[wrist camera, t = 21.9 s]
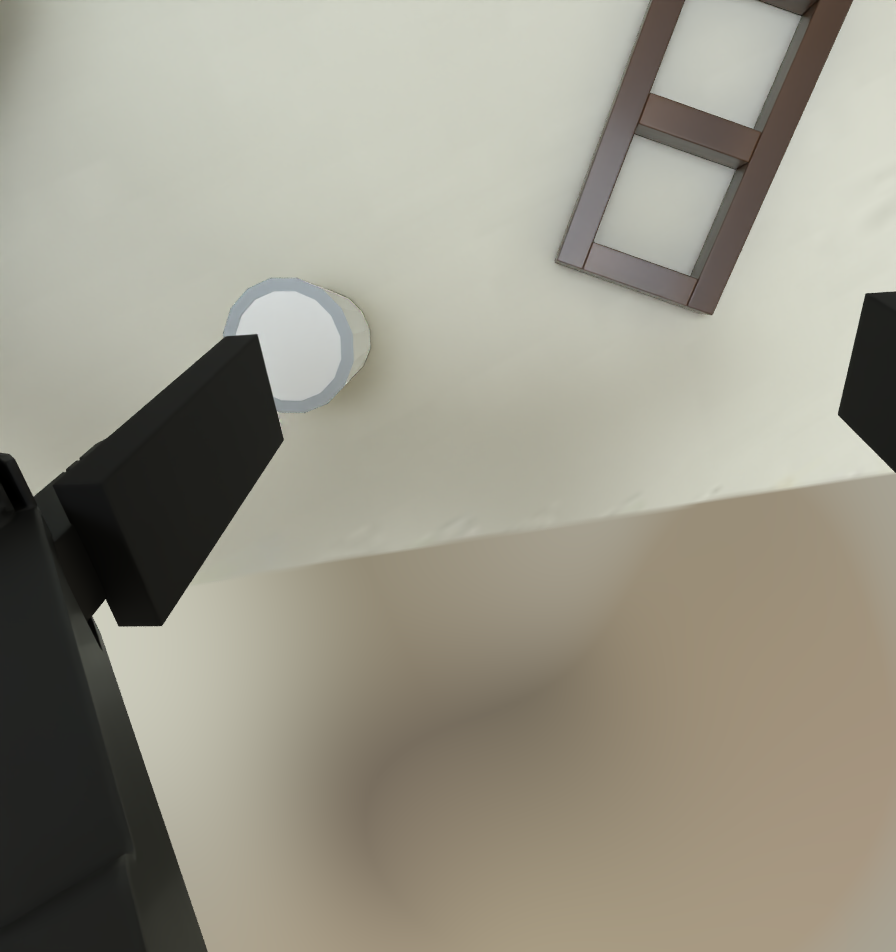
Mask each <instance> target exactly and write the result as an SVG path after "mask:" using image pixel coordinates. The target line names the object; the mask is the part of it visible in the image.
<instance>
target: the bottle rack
mask: <svg viewBox="0 0 896 952" xmlns="http://www.w3.org/2000/svg"><path fill="white" fill-rule="evenodd" d="M684 1H685V0H650V3H649V5H648V8H647V11H646V13H645V16H644V19H643V22H642V24H641V27H640V30H639V33H638V35H637V38H636V41H635V43H634V46H633V49H632V52H631V54H630V57H629V60H628V63H627V65H626V68H625V71H624V73H623V76H622V79H621V82H620V84H619V87H618V90H617V93H616V95H615V98H614V101H613V103H612V106H611V109H610V112H609V114H608V117H607V120H606V123H605V125H604V128H603V131H602V133H601V136H600V139H599V142H598V144H597V147H596V150H595V153H594V155H593V158H592V161H591V163H590V166H589V169H588V172H587V174H586V177H585V180H584V183H583V185H582V188H581V191H580V193H579V196H578V199H577V202H576V204H575V207H574V210H573V213H572V215H571V218H570V221H569V223H568V226H567V229H566V232H565V234H564V237H563V240H562V243H561V245H560V248H559V251H558V253H557V256H556V259H555V263H558V264H561V265H564V266H567V267H569V268H572V269H575V270H579V271H581V272H584V273H586V274H589V275H592V276H595V277H598V278H601V279H603V280H606V281H609V282H612V283H615V284H618V285H620V286H623V287H626V288H629V289H632V290H635V291H637V292H640V293H643V294H646V295H649V296H652V297H654V298H657V299H660V300H663V301H666V302H668V303H671V304H674V305H677V306H680V307H683V308H686V309H688V310H691V311H694V312H697V313H700V314H705V315H713V313H714V311H715V308H716V306H717V304H718V302H719V299H720V297H721V295H722V293H723V290H724V288H725V286H726V284H727V281H728V279H729V277H730V275H731V272H732V270H733V268H734V266H735V264H736V261H737V259H738V257H739V255H740V252H741V250H742V248H743V246H744V243H745V241H746V239H747V237H748V234H749V232H750V230H751V228H752V225H753V223H754V221H755V219H756V217H757V214H758V212H759V210H760V208H761V205H762V203H763V201H764V199H765V196H766V194H767V192H768V190H769V187H770V185H771V183H772V181H773V178H774V176H775V174H776V172H777V170H778V167H779V165H780V163H781V161H782V158H783V156H784V154H785V152H786V149H787V147H788V145H789V143H790V140H791V138H792V136H793V134H794V131H795V129H796V127H797V125H798V122H799V120H800V118H801V116H802V114H803V111H804V109H805V107H806V105H807V102H808V100H809V98H810V96H811V93H812V91H813V89H814V87H815V84H816V82H817V80H818V78H819V75H820V73H821V71H822V69H823V67H824V64H825V62H826V60H827V58H828V55H829V53H830V51H831V49H832V46H833V44H834V42H835V40H836V37H837V35H838V33H839V31H840V28H841V26H842V24H843V22H844V20H845V17H846V15H847V13H848V11H849V8H850V6H851V4H852V2H853V0H760V1H763V2H766V3H768V4H771V5H774V6H777V7H780V8H783V9H785V10H788V11H791V12H794V13H797V14H800V15H803V16H802V18H801V20H800V23H799V25H798V27H797V30H796V32H795V34H794V37H793V39H792V41H791V44H790V46H789V48H788V51H787V53H786V55H785V58H784V60H783V62H782V65H781V67H780V69H779V72H778V74H777V76H776V79H775V81H774V83H773V86H772V88H771V90H770V93H769V95H768V97H767V100H766V102H765V104H764V107H763V109H762V111H761V114H760V116H759V118H758V121H757V123H756V125H755V128H754V129H752V128H749V127H746V126H743V125H740V124H737V123H735V122H732V121H729V120H726V119H723V118H720V117H718V116H715V115H712V114H709V113H706V112H704V111H701V110H698V109H695V108H692V107H689V106H687V105H684V104H681V103H678V102H675V101H672V100H670V99H667V98H664V97H661V96H658V95H655V94H653V93H650V91H651V88H652V86H653V83H654V80H655V78H656V75H657V72H658V70H659V67H660V65H661V62H662V59H663V57H664V54H665V51H666V49H667V46H668V43H669V41H670V38H671V36H672V33H673V30H674V28H675V25H676V22H677V20H678V17H679V15H680V12H681V9H682V7H683V4H684ZM649 93H650V94H649ZM634 134H637V135H640V136H643V137H646V138H648V139H651V140H654V141H657V142H660V143H663V144H665V145H668V146H671V147H674V148H677V149H680V150H682V151H685V152H688V153H691V154H694V155H697V156H699V157H702V158H705V159H708V160H711V161H714V162H716V163H719V164H722V165H725V166H728V167H730V168H733V169H737V170H736V172H735V174H734V177H733V179H732V181H731V183H730V186H729V188H728V190H727V193H726V195H725V197H724V200H723V202H722V204H721V207H720V209H719V211H718V214H717V216H716V218H715V221H714V223H713V225H712V228H711V230H710V232H709V235H708V237H707V239H706V242H705V244H704V246H703V249H702V251H701V253H700V256H699V258H698V260H697V263H696V265H695V267H694V270H693V272H692V274H691V276H688V275H685V274H682V273H679V272H677V271H674V270H671V269H668V268H665V267H662V266H660V265H657V264H654V263H651V262H648V261H646V260H643V259H640V258H637V257H634V256H631V255H629V254H626V253H623V252H620V251H617V250H614V249H612V248H609V247H606V246H603V245H600V244H597V243H595V242H593V241H594V238H595V235H596V233H597V230H598V228H599V225H600V222H601V220H602V217H603V214H604V212H605V209H606V206H607V204H608V201H609V199H610V196H611V193H612V191H613V188H614V185H615V183H616V180H617V178H618V175H619V172H620V170H621V167H622V164H623V162H624V159H625V157H626V154H627V151H628V149H629V146H630V143H631V141H632V138H633V136H634Z"/></svg>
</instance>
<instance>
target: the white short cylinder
mask: <svg viewBox="0 0 896 952" xmlns="http://www.w3.org/2000/svg"><path fill="white" fill-rule="evenodd" d="M250 334H258V338H259V342H260V346H261V350H262V354H263V358H264V362H265V366H266V370H267V374H268V378H269V382H270V386H271V390H272V394H273V398H274V402H275V406H276V410H277V411H278V412H282V413H306V412H308V411H311V410H313V409H316V408H318V407H321V406H323V405H325V404H328V403H329V402H330V401H331V400H332V399H333V397H334V396H335V395H336V394H337V393H338V392H339V391H340V390H341V389H342V388H343V387H344V386H345V385H346V384H347V383H348V382H349V381H350V379H351V378H352V377H353V376H354V375H355V374H356V373H357V372H358V371H359V370H360V369H361V368H362V367H363V365H364V364H365V361H366V358H367V356H368V353H369V350H370V329H369V327H368V324H367V322H366V320H365V317H364V315H363V312H362V311H361V310H360V309H359V308H358V307H357V306H356V305H355V304H354V303H353V302H352V301H351V300H350V299H349V298H346V297H344V296H342V295H339V294H337V293H335V292H332V291H330V290H327V289H325V288H322V287H319V286H317V285H314V284H312V283H309V282H307V281H304V280H301V279H299V278H269V279H267V280H265V281H263V282H261V283H259V284H256V285H254V286H252V287H250V288H248V289H247V290H246V291H245V292H244V293H243V294H242V296H241V297H240V298H239V299H238V300H237V301H236V303H235V304H234V305H233V306H232V307H231V309H230V312H229V316H228V319H227V322H226V325H225V329H224V332H223V337H226V336H235V335H250Z"/></svg>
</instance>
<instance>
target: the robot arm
mask: <svg viewBox="0 0 896 952" xmlns="http://www.w3.org/2000/svg"><path fill="white" fill-rule="evenodd" d="M838 415H839V416H840V417H841V418H842V419H843V420H844V421H845V422H846V423H847V424H848V426H849V427H850V428H851V429H852V430H853V431H854V432H855V433H856V434H857V435H858V436H859V437H860V438H861V439H862V440H863V441H864V442H865V443H866V444H867V445H868V446H869V447H870V448H871V449H872V450H873V451H874V452H875V453H876V454H877V455H878V456H879V457H880V458H881V459H882V460H883V461H884V462H885V463H886V464H887V465H888V466H889V467H890V468H891V469H892V470H893V471H894V472H895V473H896V292H882V293H867V294H865V298H864V303H863V307H862V311H861V316H860V320H859V325H858V329H857V333H856V338H855V342H854V346H853V351H852V355H851V359H850V364H849V368H848V372H847V377H846V381H845V385H844V390H843V394H842V398H841V403H840V407H839V411H838ZM283 441H284V438H283V434H282V430H281V426H280V422H279V418H278V414H277V410H276V406H275V402H274V398H273V394H272V390H271V386H270V382H269V378H268V374H267V370H266V366H265V362H264V358H263V354H262V350H261V346H260V342H259V338H258V334H250V335H235V336H226V337H224V338H223V339H222V340H221V341H220V342H219V343H217V344H216V345H215V346H214V347H213V348H212V349H210V350H209V351H208V352H207V353H206V354H205V355H203V356H202V357H201V358H200V359H199V360H198V361H196V362H195V363H194V364H193V365H192V366H191V367H189V368H188V369H187V370H186V371H185V372H184V373H182V374H181V375H180V376H179V377H178V378H177V379H175V380H174V381H173V382H172V383H171V384H170V385H168V386H167V387H166V388H165V389H164V390H163V391H161V392H160V393H159V394H158V395H157V396H156V397H154V398H153V399H152V400H151V401H150V402H149V403H147V404H146V405H145V406H144V407H143V408H142V409H141V410H139V411H138V412H137V413H136V414H135V415H134V416H132V417H131V418H130V419H129V420H128V421H127V422H125V423H124V424H123V425H122V426H121V427H120V428H118V429H117V430H116V431H115V432H114V433H113V434H111V435H110V436H109V437H108V438H106V439H104V440H103V441H101V442H99V443H97V444H95V445H94V446H93V447H92V448H91V449H89V450H88V451H87V452H86V453H85V454H84V455H82V456H81V457H80V461H75V462H74V463H73V464H72V465H71V466H69V467H68V468H67V469H66V472H62V473H61V474H60V475H59V476H58V477H56V478H55V479H54V480H53V481H52V482H51V483H49V484H48V485H47V486H46V487H45V488H44V489H42V490H41V491H40V492H39V493H38V494H36V495H35V496H34V497H33V495H32V493H31V491H30V489H29V487H28V485H27V483H26V481H25V479H24V477H23V475H22V473H21V471H20V469H19V467H18V465H17V463H16V461H15V459H14V458H13V457H12V456H11V455H10V454H5V453H0V952H207V949H206V945H205V942H204V939H203V936H202V933H201V930H200V927H199V925H198V922H197V919H196V916H195V913H194V910H193V907H192V904H191V901H190V898H189V895H188V892H187V889H186V886H185V883H184V880H183V877H182V874H181V871H180V868H179V865H178V862H177V859H176V856H175V853H174V850H173V848H172V844H171V841H170V839H169V835H168V832H167V830H166V826H165V824H164V821H163V818H162V815H161V812H160V809H159V806H158V803H157V800H156V797H155V794H154V791H153V788H152V785H151V782H150V779H149V776H148V773H147V770H146V767H145V764H144V761H143V758H142V755H141V752H140V749H139V746H138V743H137V740H136V737H135V734H134V731H133V729H132V725H131V723H130V719H129V716H128V714H127V711H126V708H125V705H124V702H123V699H122V696H121V693H120V690H119V687H118V684H117V681H116V678H115V675H114V672H113V669H112V666H111V663H110V660H109V657H108V654H107V651H106V648H105V645H104V643H103V640H102V636H101V633H100V631H99V629H98V627H97V625H96V623H95V621H94V619H93V617H92V615H93V614H94V613H95V612H96V610H97V609H98V608H99V607H100V605H101V604H102V603H103V602H104V600H105V599H106V600H107V603H108V605H109V607H110V609H111V611H112V613H113V615H114V617H115V620H116V622H117V624H118V626H162V625H163V624H164V622H165V621H166V619H167V618H168V616H169V614H170V613H171V611H172V610H173V608H174V607H175V605H176V604H177V602H178V601H179V599H180V598H181V596H182V595H183V593H184V591H185V590H186V589H187V587H188V586H189V584H190V582H191V581H192V579H193V578H194V576H195V575H196V573H197V572H198V570H199V569H200V567H201V566H202V564H203V563H204V561H205V560H206V558H207V557H208V555H209V553H210V552H211V550H212V549H213V547H214V546H215V544H216V543H217V541H218V540H219V538H220V537H221V535H222V534H223V532H224V531H225V529H226V528H227V526H228V524H229V523H230V521H231V520H232V518H233V517H234V515H235V514H236V512H237V511H238V509H239V508H240V506H241V505H242V503H243V502H244V500H245V499H246V497H247V495H248V494H249V492H250V491H251V489H252V488H253V486H254V485H255V483H256V482H257V480H258V479H259V477H260V476H261V474H262V473H263V471H264V470H265V468H266V466H267V465H268V463H269V462H270V460H271V459H272V457H273V456H274V454H275V453H276V451H277V450H278V448H279V447H280V445H281V444H282V442H283Z"/></svg>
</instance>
